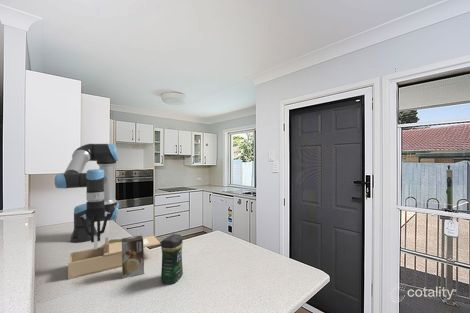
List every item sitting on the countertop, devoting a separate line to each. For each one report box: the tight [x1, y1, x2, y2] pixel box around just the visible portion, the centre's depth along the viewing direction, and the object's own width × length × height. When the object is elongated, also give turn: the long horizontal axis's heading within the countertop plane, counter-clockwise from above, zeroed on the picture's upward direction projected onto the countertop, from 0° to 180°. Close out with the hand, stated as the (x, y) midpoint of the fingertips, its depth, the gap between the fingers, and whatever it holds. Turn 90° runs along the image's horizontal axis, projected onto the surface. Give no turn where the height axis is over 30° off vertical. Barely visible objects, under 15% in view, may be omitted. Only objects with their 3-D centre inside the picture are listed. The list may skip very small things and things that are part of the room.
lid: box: [102, 235, 161, 256], centre depth 119 cm, size 14×26×5 cm, turn 122°
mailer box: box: [67, 246, 122, 281], centre depth 111 cm, size 14×26×7 cm, turn 122°
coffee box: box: [121, 234, 145, 279], centre depth 103 cm, size 9×6×16 cm
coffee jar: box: [160, 233, 184, 284], centre depth 98 cm, size 10×8×19 cm
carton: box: [100, 238, 122, 247], centre depth 131 cm, size 8×16×4 cm, turn 3°
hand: (95, 248), depth 110 cm, fingers closed
